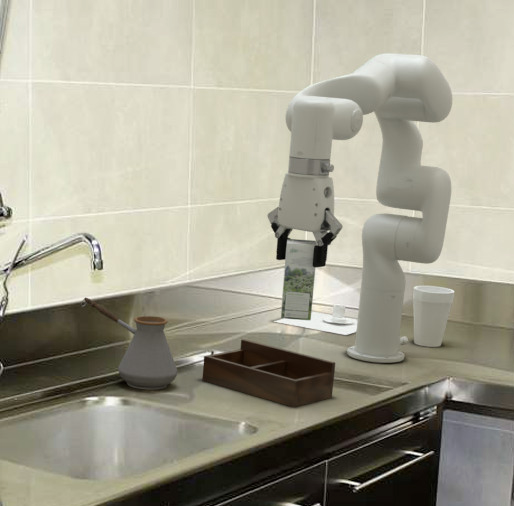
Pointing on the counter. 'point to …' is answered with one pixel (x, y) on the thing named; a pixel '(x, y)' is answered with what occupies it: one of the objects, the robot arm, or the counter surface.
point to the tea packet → (298, 280)
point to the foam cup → (431, 314)
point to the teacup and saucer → (326, 321)
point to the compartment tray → (271, 373)
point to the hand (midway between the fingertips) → (300, 262)
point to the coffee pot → (145, 352)
